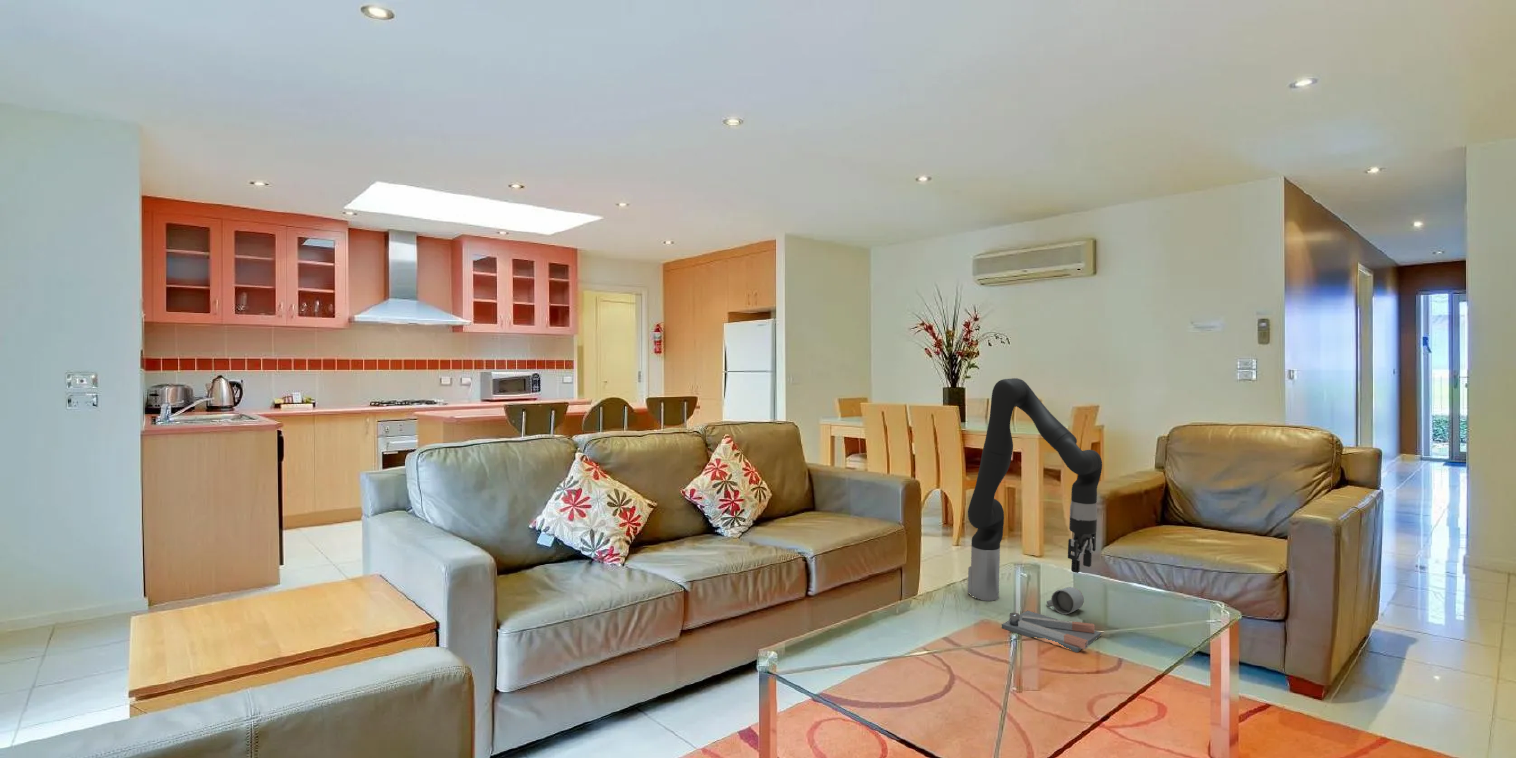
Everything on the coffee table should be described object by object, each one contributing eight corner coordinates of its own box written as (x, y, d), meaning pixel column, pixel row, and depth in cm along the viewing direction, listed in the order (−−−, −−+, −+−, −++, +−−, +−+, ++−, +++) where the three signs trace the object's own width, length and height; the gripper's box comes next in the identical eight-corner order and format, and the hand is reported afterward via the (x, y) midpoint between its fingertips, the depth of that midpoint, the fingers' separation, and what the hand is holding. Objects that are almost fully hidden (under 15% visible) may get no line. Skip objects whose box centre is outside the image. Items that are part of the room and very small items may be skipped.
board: (1001, 628, 225) (1001, 624, 225) (1027, 614, 235) (1027, 610, 235) (1077, 652, 208) (1077, 648, 208) (1101, 636, 219) (1101, 632, 219)
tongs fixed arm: (1006, 624, 224) (1007, 614, 224) (1012, 621, 227) (1012, 611, 227) (1084, 649, 207) (1085, 638, 207) (1090, 645, 209) (1090, 635, 209)
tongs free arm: (1022, 624, 224) (1022, 617, 224) (1022, 621, 226) (1022, 615, 226) (1094, 633, 218) (1094, 626, 217) (1093, 630, 219) (1093, 623, 219)
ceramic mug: (1085, 610, 238) (1085, 587, 238) (1073, 617, 233) (1074, 593, 232) (1053, 602, 246) (1054, 579, 246) (1041, 608, 241) (1041, 585, 240)
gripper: (1081, 509, 231) (1079, 561, 232) (1060, 517, 221) (1058, 571, 223) (1105, 514, 225) (1103, 567, 227) (1085, 523, 216) (1083, 577, 217)
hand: (1081, 569), depth 225 cm, fingers open, 7 cm apart
